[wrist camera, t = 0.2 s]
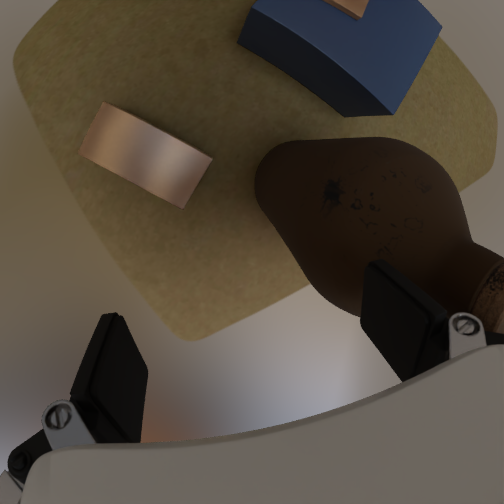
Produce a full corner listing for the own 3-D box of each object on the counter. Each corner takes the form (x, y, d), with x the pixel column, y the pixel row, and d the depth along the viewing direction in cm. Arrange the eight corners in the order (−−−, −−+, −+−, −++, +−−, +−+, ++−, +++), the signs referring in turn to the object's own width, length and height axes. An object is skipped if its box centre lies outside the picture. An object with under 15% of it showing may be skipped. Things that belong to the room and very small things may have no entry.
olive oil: (249, 235, 30) (367, 460, 8) (246, 135, 26) (476, 140, 3) (339, 228, 32) (511, 370, 9) (342, 136, 28) (574, 184, 5)
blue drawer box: (308, -33, 18) (339, -69, 10) (397, 36, 23) (445, 21, 15) (236, 42, 22) (251, 6, 14) (344, 117, 27) (393, 115, 19)
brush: (96, 150, 24) (77, 153, 19) (119, 106, 23) (103, 101, 18) (186, 197, 28) (183, 210, 23) (211, 155, 26) (213, 158, 22)
